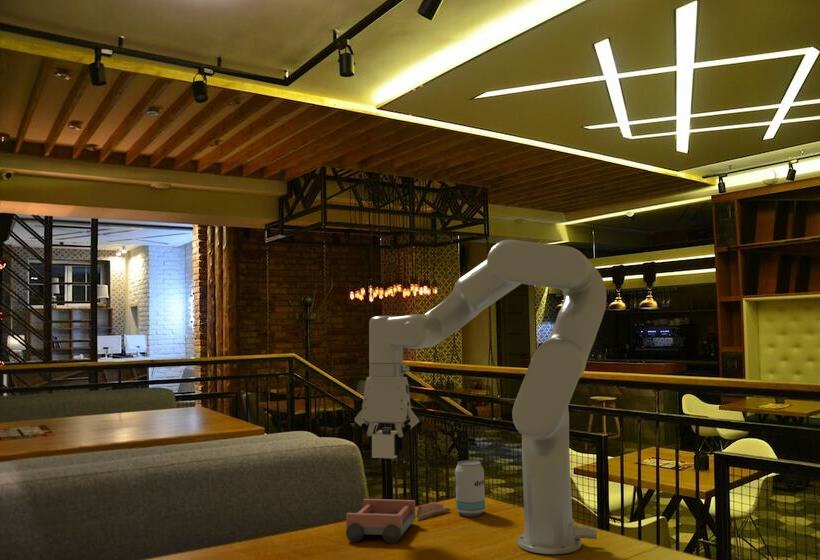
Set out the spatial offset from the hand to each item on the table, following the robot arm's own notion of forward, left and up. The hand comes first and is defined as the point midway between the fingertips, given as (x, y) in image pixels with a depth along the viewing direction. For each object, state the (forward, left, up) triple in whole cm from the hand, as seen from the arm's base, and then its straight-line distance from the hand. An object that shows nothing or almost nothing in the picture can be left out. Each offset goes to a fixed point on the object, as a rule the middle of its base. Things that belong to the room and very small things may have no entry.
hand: (386, 453), depth 147 cm
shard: (-7, -16, -18) cm, 25 cm away
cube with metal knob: (0, 0, -1) cm, 1 cm away
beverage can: (-16, -17, -17) cm, 29 cm away
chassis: (+1, 0, -17) cm, 17 cm away
